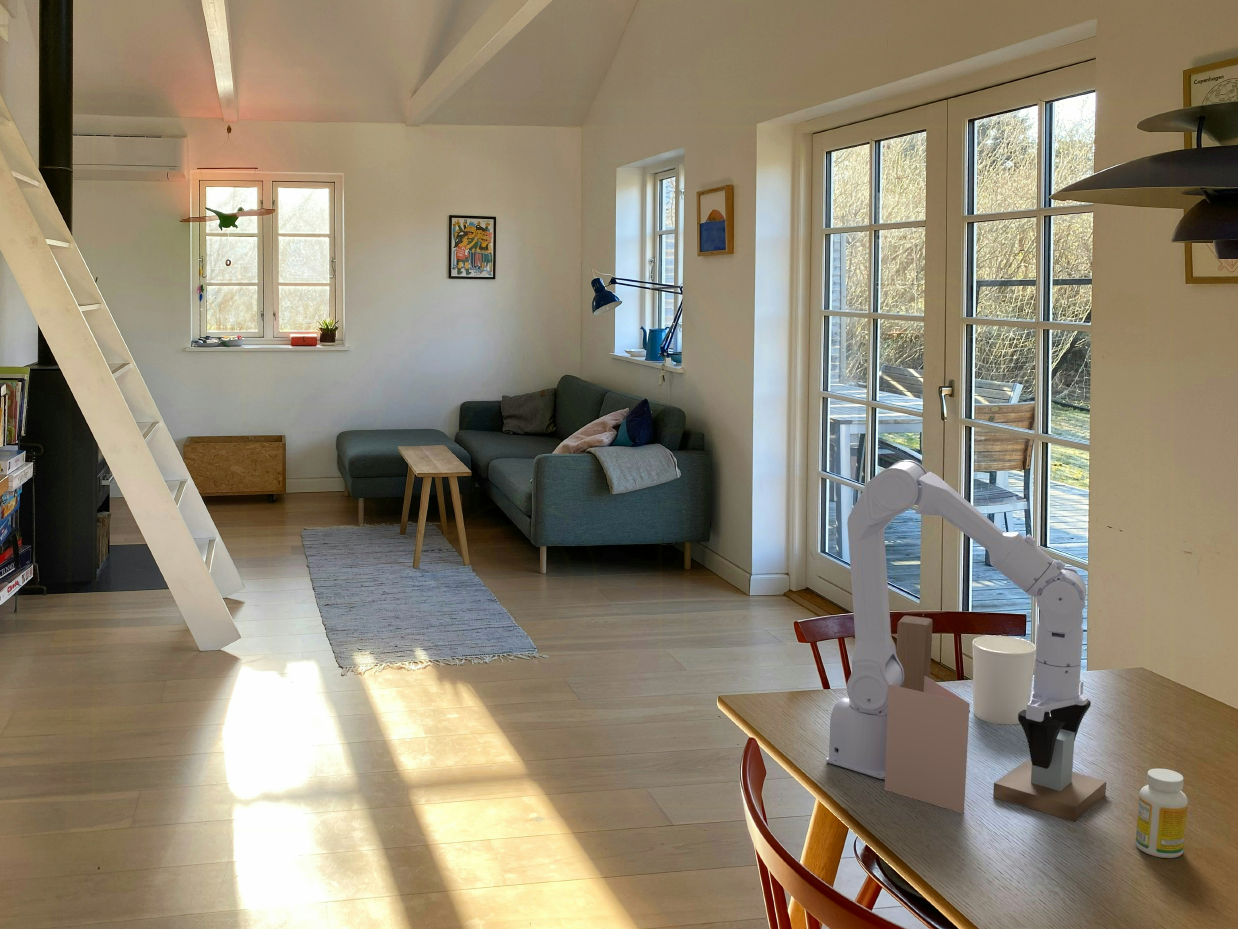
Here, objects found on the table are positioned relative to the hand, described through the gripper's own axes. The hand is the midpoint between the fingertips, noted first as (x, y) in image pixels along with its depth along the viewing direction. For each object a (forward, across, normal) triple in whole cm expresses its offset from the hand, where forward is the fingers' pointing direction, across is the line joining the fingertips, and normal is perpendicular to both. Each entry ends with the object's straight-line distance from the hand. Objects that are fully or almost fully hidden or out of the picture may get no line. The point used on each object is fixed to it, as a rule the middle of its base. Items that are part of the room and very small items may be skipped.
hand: (1051, 758), depth 156 cm
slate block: (+3, 0, 0) cm, 3 cm away
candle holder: (+6, +25, +18) cm, 31 cm away
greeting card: (+6, -12, +12) cm, 18 cm away
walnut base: (+5, 0, 0) cm, 5 cm away
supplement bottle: (+6, -6, -16) cm, 18 cm away
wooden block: (+6, +9, +23) cm, 25 cm away
